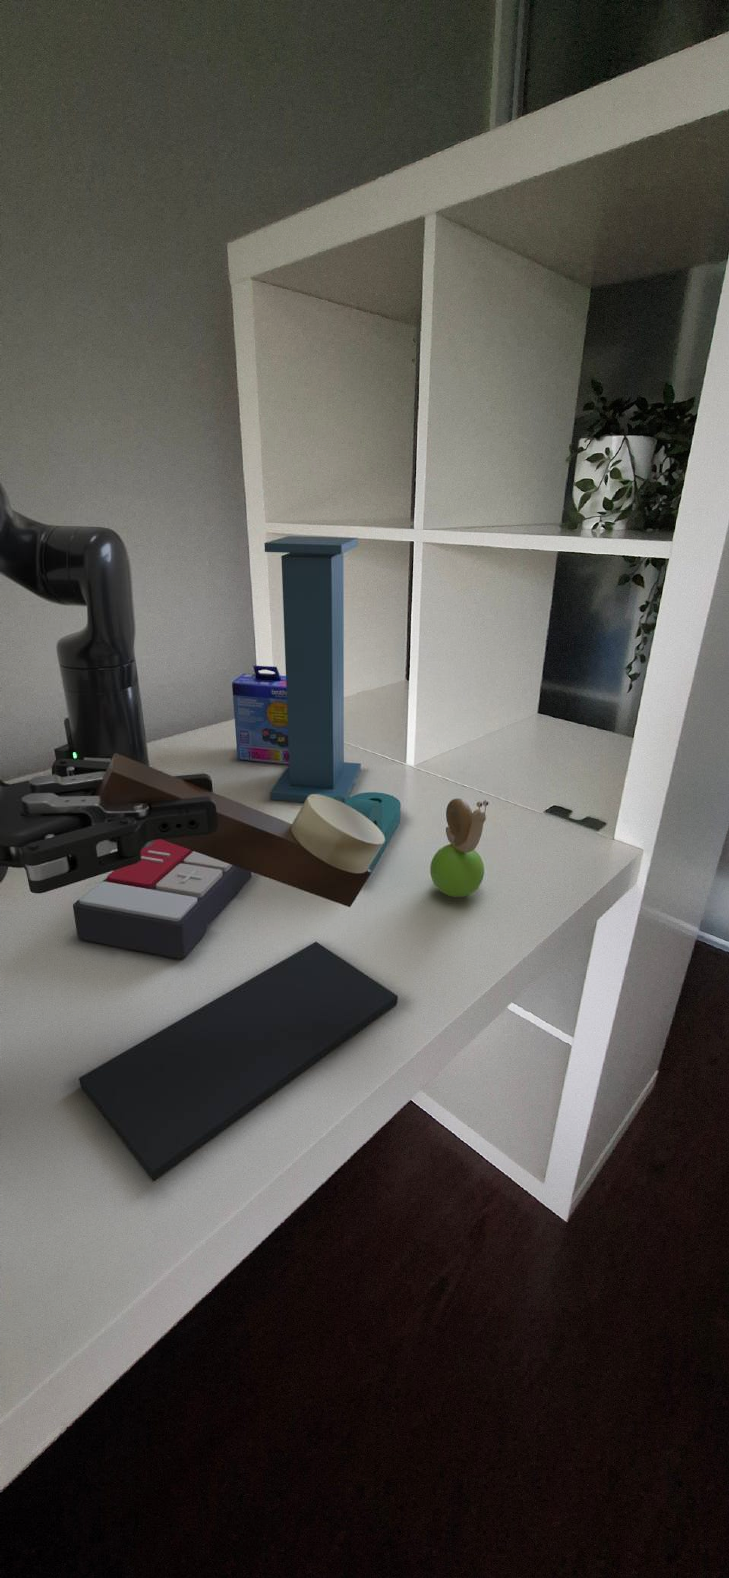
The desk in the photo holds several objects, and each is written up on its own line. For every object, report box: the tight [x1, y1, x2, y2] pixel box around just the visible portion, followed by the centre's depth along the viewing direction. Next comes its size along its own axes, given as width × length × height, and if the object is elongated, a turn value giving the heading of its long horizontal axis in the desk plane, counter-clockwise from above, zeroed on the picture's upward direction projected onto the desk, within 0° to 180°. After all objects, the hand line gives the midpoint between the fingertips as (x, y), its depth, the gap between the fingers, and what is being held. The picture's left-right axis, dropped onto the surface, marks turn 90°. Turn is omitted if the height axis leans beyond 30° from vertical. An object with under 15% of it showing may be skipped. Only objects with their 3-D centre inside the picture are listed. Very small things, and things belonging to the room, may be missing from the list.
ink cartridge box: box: [231, 665, 289, 766], centre depth 101 cm, size 10×6×14 cm, turn 79°
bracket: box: [316, 791, 402, 873], centre depth 79 cm, size 18×7×8 cm, turn 163°
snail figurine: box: [429, 798, 489, 898], centre depth 68 cm, size 5×6×12 cm
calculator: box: [72, 839, 253, 959], centre depth 68 cm, size 11×4×15 cm
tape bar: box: [95, 753, 385, 908], centre depth 44 cm, size 18×6×5 cm
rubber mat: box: [78, 941, 399, 1181], centre depth 52 cm, size 22×10×1 cm, turn 135°
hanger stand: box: [264, 535, 362, 804], centre depth 89 cm, size 12×10×32 cm
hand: (212, 801), depth 43 cm, fingers closed on tape bar, 3 cm apart
